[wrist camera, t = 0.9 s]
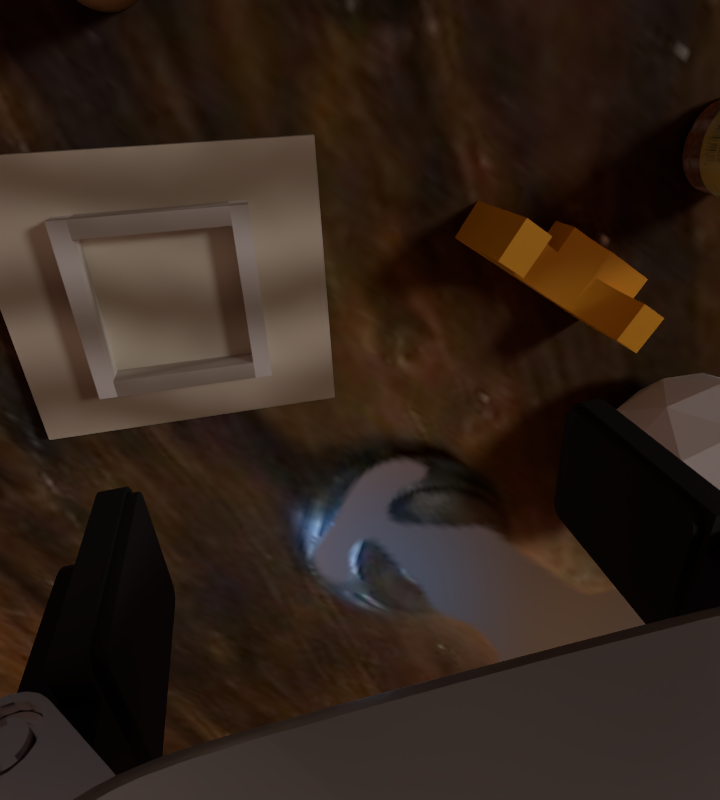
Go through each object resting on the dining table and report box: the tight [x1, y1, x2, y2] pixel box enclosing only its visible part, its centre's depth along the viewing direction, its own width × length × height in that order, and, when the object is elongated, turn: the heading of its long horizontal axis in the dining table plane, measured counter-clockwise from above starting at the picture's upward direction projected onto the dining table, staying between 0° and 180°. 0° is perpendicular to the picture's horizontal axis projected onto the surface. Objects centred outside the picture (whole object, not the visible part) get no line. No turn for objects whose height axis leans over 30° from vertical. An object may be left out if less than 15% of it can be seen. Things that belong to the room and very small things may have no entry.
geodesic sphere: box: [616, 373, 720, 490], centre depth 40 cm, size 15×14×14 cm
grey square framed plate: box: [0, 134, 335, 440], centre depth 32 cm, size 16×18×3 cm
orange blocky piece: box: [455, 201, 664, 353], centre depth 34 cm, size 12×4×6 cm, turn 58°
